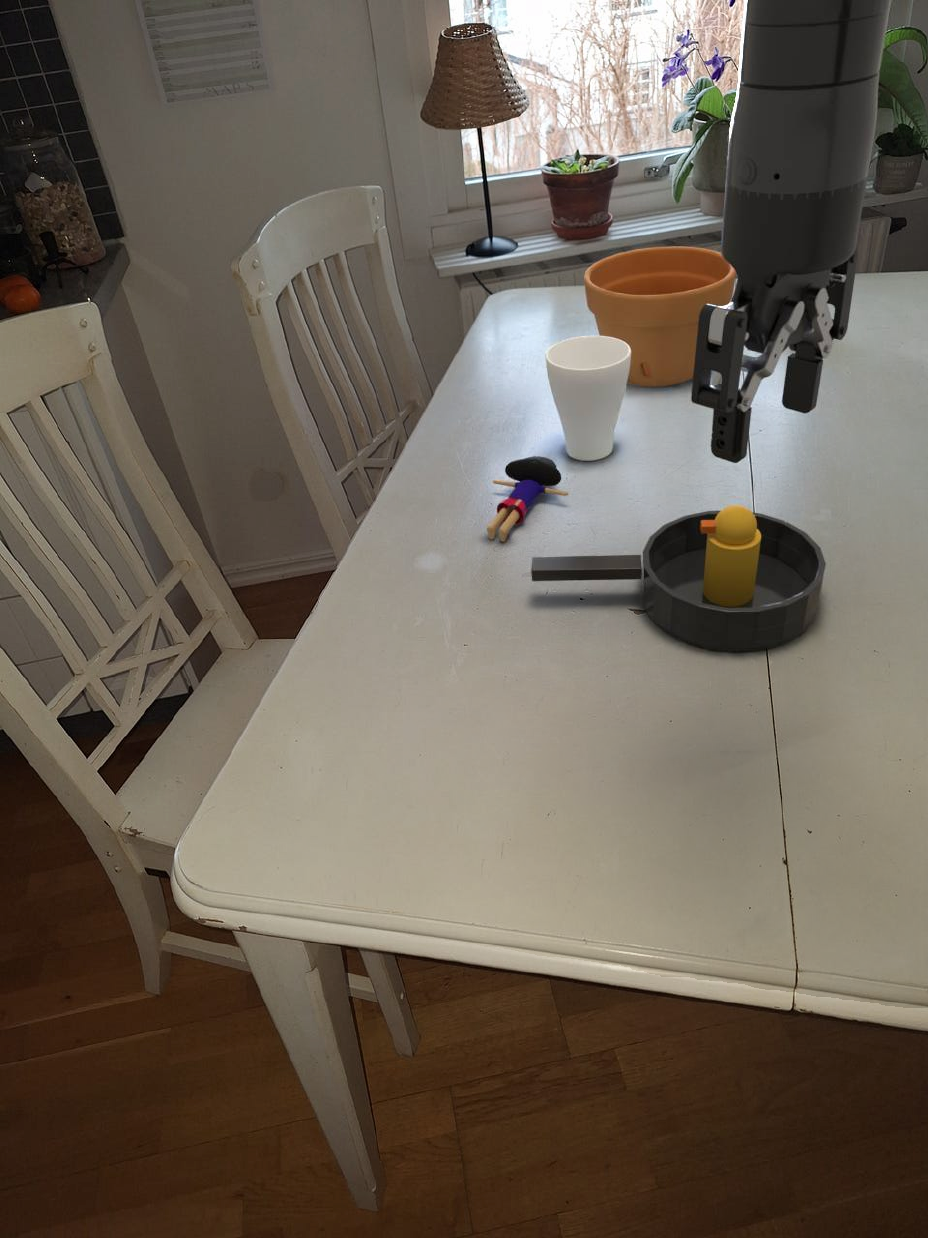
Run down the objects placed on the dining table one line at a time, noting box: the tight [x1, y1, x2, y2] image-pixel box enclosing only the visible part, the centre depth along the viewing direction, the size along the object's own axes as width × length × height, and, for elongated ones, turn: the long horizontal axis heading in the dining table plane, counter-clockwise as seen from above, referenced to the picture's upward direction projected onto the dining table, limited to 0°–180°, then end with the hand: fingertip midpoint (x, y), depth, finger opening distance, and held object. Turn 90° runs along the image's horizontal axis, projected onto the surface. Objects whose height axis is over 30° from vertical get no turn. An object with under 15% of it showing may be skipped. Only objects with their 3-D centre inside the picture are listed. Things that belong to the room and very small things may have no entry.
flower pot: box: [583, 245, 737, 388], centre depth 130 cm, size 21×21×15 cm
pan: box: [641, 510, 827, 653], centre depth 89 cm, size 17×17×5 cm
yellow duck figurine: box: [700, 504, 761, 607], centre depth 87 cm, size 6×5×10 cm
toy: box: [486, 455, 570, 543], centre depth 106 cm, size 10×5×15 cm
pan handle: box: [530, 554, 642, 582], centre depth 90 cm, size 11×2×1 cm, turn 84°
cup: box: [544, 335, 631, 462], centre depth 113 cm, size 10×10×14 cm
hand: (764, 432), depth 60 cm, fingers open, 8 cm apart
